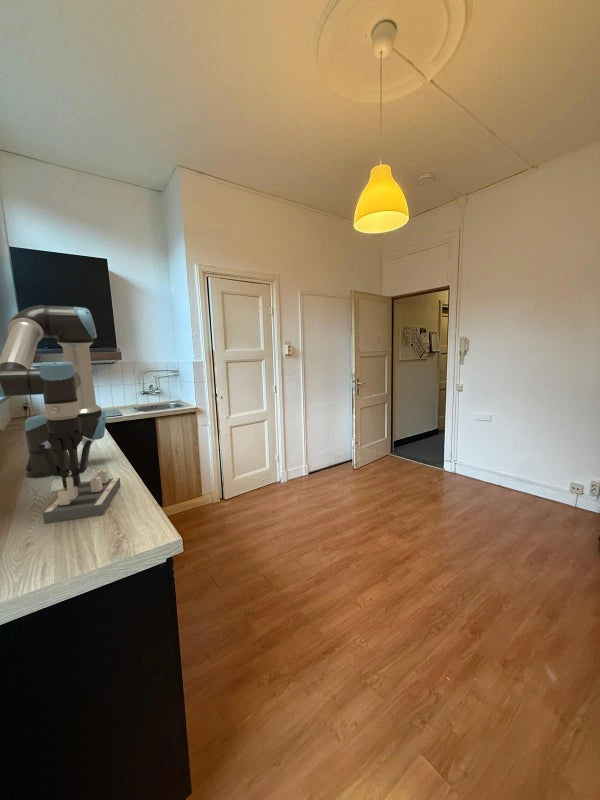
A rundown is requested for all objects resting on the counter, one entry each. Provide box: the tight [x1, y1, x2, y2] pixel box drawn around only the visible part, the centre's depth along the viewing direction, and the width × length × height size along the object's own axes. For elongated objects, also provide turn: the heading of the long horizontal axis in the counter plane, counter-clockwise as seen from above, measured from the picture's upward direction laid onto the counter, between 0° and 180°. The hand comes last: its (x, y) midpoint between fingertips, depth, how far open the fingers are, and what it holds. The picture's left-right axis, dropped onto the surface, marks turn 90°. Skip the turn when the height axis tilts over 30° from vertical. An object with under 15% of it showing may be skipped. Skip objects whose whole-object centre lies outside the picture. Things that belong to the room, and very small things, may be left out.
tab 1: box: [57, 488, 73, 505], centre depth 91 cm, size 2×2×4 cm
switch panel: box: [42, 477, 121, 524], centre depth 99 cm, size 22×14×3 cm, turn 17°
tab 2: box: [89, 475, 102, 493], centre depth 99 cm, size 2×2×4 cm
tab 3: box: [96, 468, 109, 484], centre depth 106 cm, size 2×2×4 cm
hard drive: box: [49, 477, 64, 494], centre depth 113 cm, size 2×8×12 cm
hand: (73, 497), depth 92 cm, fingers closed
